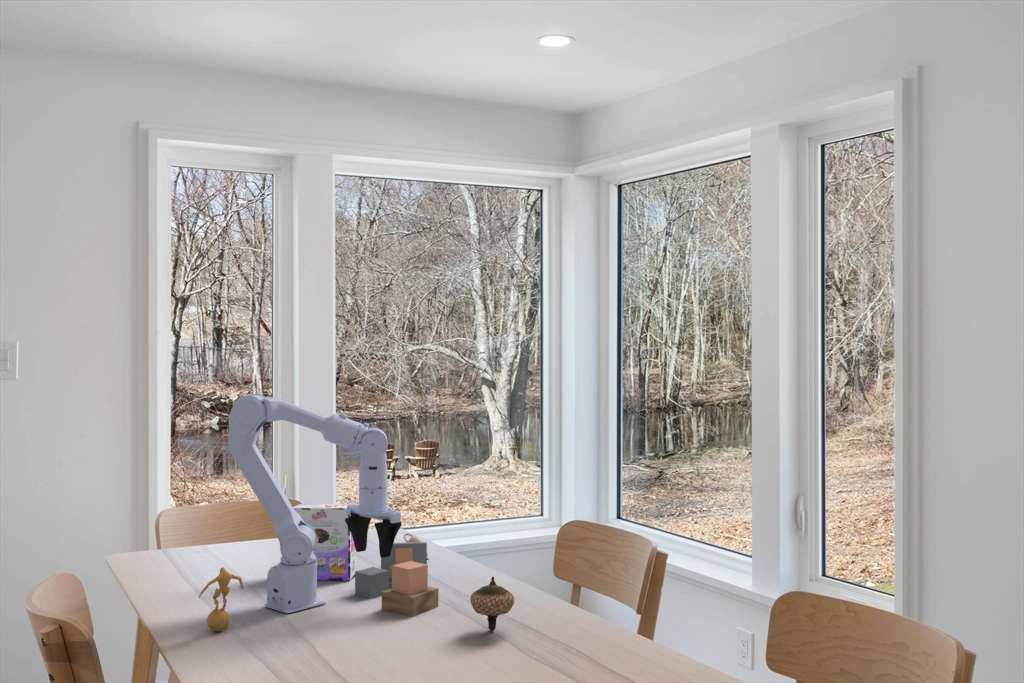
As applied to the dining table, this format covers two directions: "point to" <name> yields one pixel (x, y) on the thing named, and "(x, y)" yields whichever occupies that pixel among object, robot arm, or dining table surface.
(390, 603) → the walnut base block
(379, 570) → the charcoal cube
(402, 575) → the terracotta cube
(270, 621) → the dining table surface
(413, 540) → the decorative ornament
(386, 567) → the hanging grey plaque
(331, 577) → the candy box
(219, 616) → the figurine
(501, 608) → the acorn
